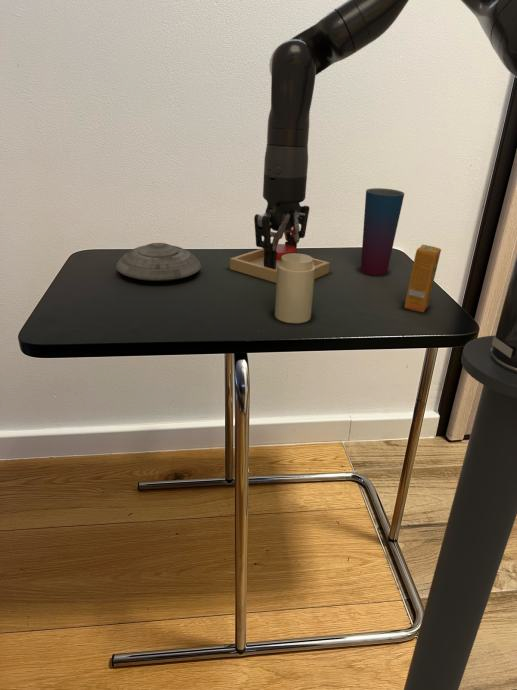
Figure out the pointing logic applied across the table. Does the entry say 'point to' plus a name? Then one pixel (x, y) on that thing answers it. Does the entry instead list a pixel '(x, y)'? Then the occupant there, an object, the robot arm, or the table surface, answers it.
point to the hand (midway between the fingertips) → (279, 265)
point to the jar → (294, 288)
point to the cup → (379, 229)
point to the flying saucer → (158, 263)
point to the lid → (284, 250)
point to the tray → (255, 267)
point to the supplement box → (422, 278)
